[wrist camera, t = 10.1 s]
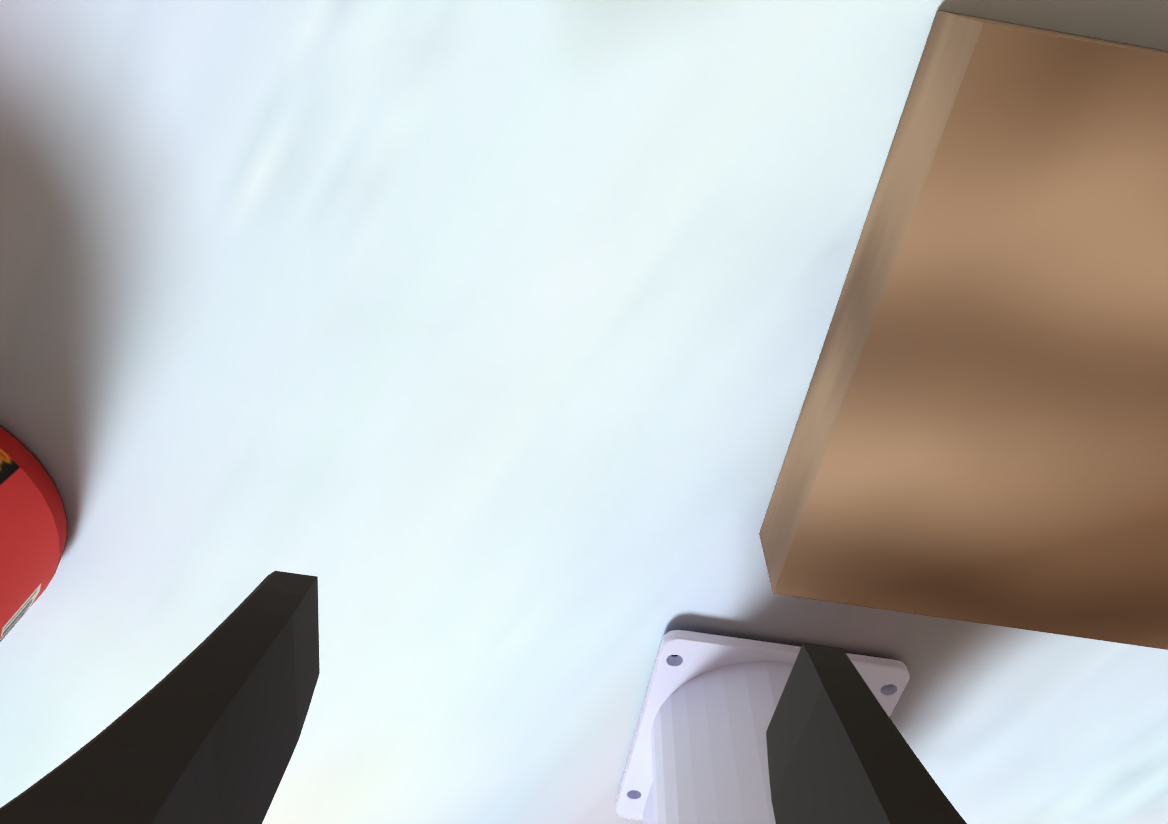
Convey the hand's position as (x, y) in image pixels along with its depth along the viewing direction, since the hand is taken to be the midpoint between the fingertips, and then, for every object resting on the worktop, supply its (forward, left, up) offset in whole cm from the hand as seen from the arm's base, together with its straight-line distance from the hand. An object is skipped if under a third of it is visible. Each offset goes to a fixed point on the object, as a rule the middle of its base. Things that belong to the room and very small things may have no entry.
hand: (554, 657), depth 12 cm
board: (+2, -16, -10) cm, 19 cm away
